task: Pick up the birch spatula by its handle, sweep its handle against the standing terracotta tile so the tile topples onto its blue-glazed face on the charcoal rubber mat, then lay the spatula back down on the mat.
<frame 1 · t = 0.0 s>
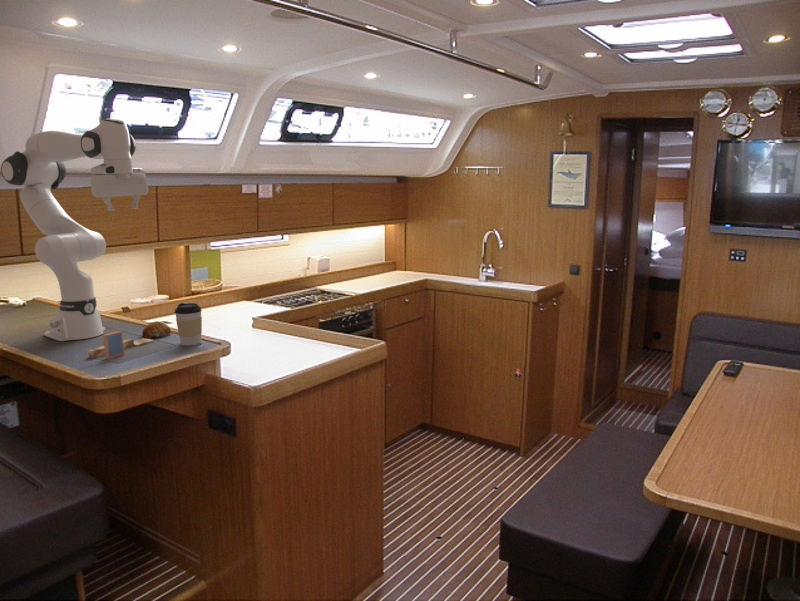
hand: (123, 209, 221), 48 cm above the counter, fingers open, 8 cm apart
coffee cup: (191, 346, 229), on the counter
spatula: (112, 351, 219), point 1 cm above the counter, touching mat
mat: (133, 354, 220), on the counter
tile: (115, 356, 213), point 1 cm above the counter, touching mat
bread roll: (156, 338, 240), on the counter
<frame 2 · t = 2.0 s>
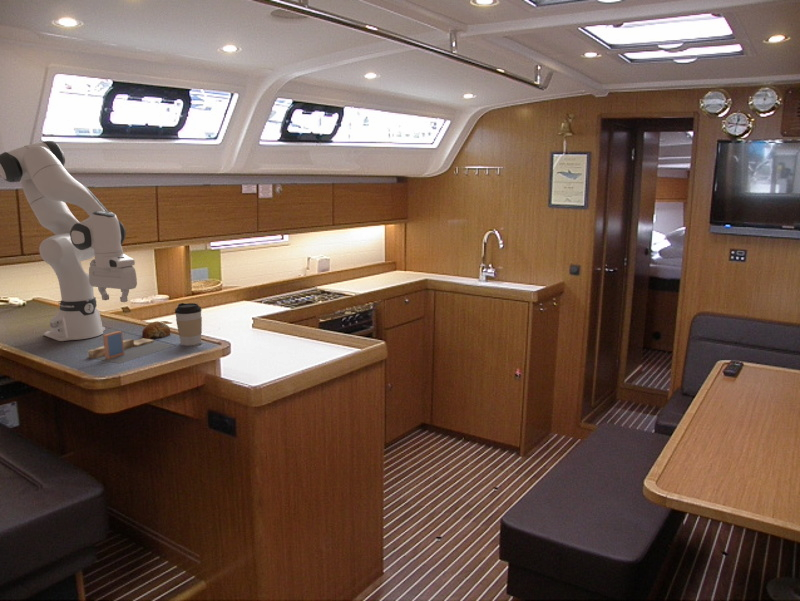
hand: (114, 300, 218), 18 cm above the counter, fingers open, 8 cm apart
nothing on the counter moved.
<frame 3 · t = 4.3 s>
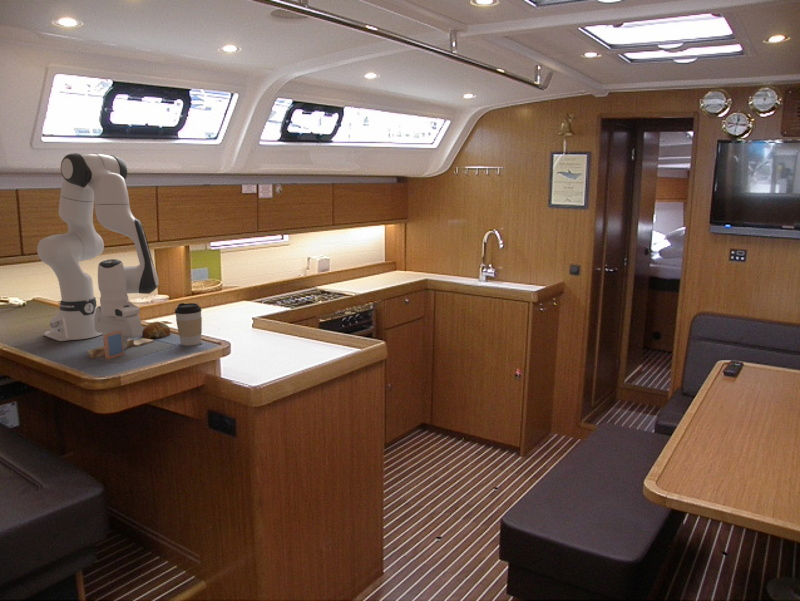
hand: (119, 347, 222), 2 cm above the counter, fingers closed on spatula, 2 cm apart
spatula: (112, 351, 219), point 1 cm above the counter, touching gripper, mat
everything else where it was.
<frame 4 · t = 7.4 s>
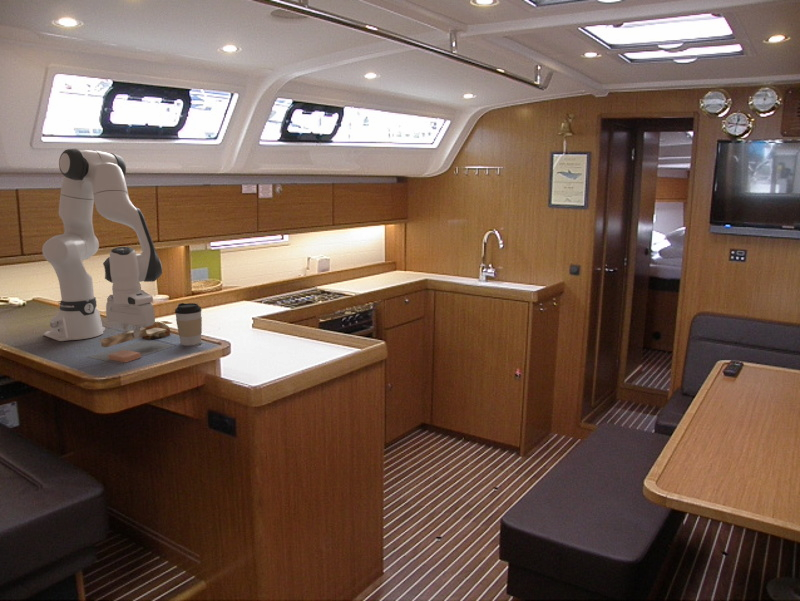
hand: (132, 336, 217), 6 cm above the counter, fingers closed on spatula, 2 cm apart
spatula: (124, 340, 215), point 6 cm above the counter, touching gripper
tile: (116, 354, 213), point 2 cm above the counter, tilted 90°, touching mat
everything else where it was.
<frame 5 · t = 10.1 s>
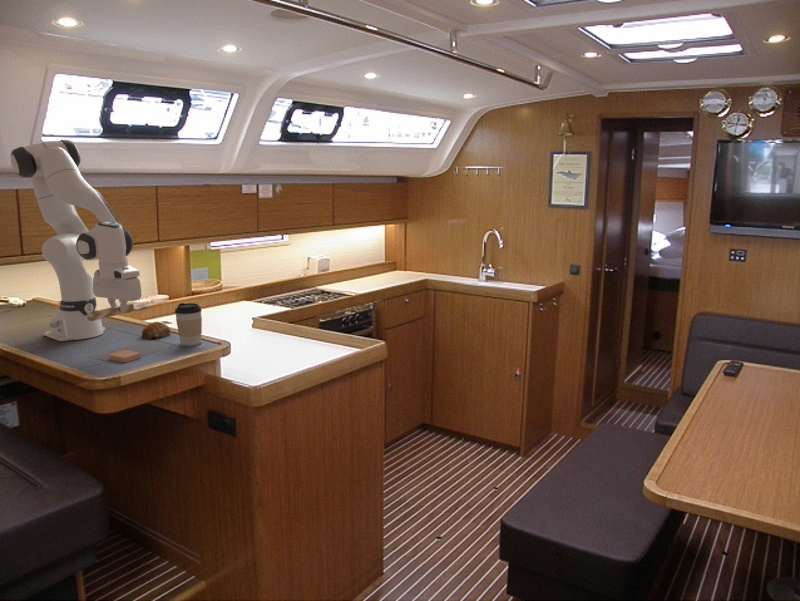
hand: (118, 311, 217), 15 cm above the counter, fingers closed on spatula, 2 cm apart
spatula: (111, 315, 214), point 14 cm above the counter, touching gripper
everything else where it was.
when the fingers open (2 cm above the counter, at t = 12.2 s): spatula stays where it is, resting on mat.
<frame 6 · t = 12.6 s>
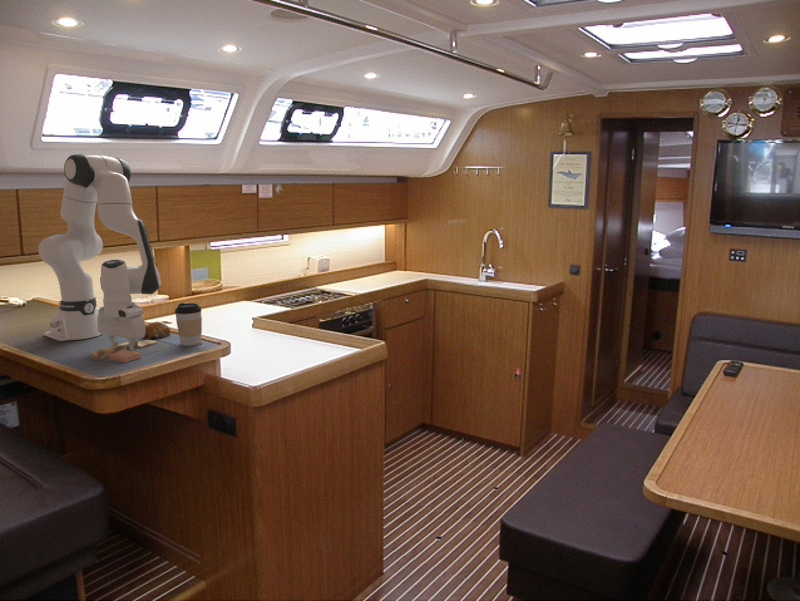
hand: (122, 348, 219), 2 cm above the counter, fingers open, 7 cm apart
spatula: (116, 353, 217), point 1 cm above the counter, touching mat
everything else where it was.
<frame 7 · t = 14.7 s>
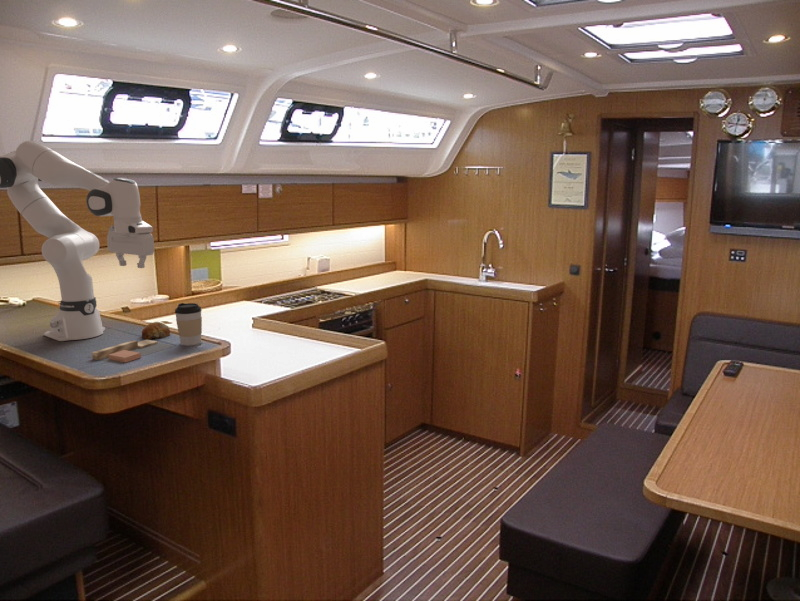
hand: (132, 266, 222), 29 cm above the counter, fingers open, 8 cm apart
nothing on the counter moved.
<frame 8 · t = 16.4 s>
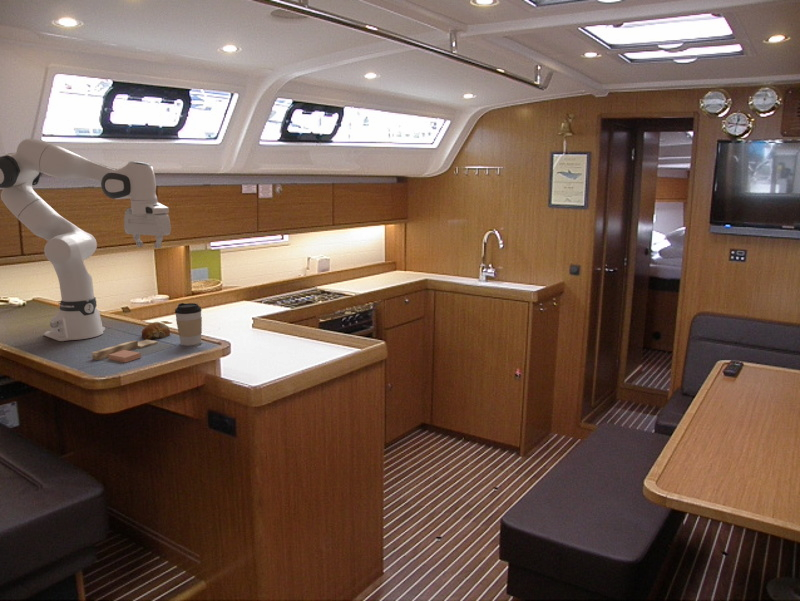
hand: (148, 247, 230), 34 cm above the counter, fingers open, 8 cm apart
nothing on the counter moved.
at the end: tile tilted 90°; the gripper is holding nothing; spatula point 1.0 cm above the counter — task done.
